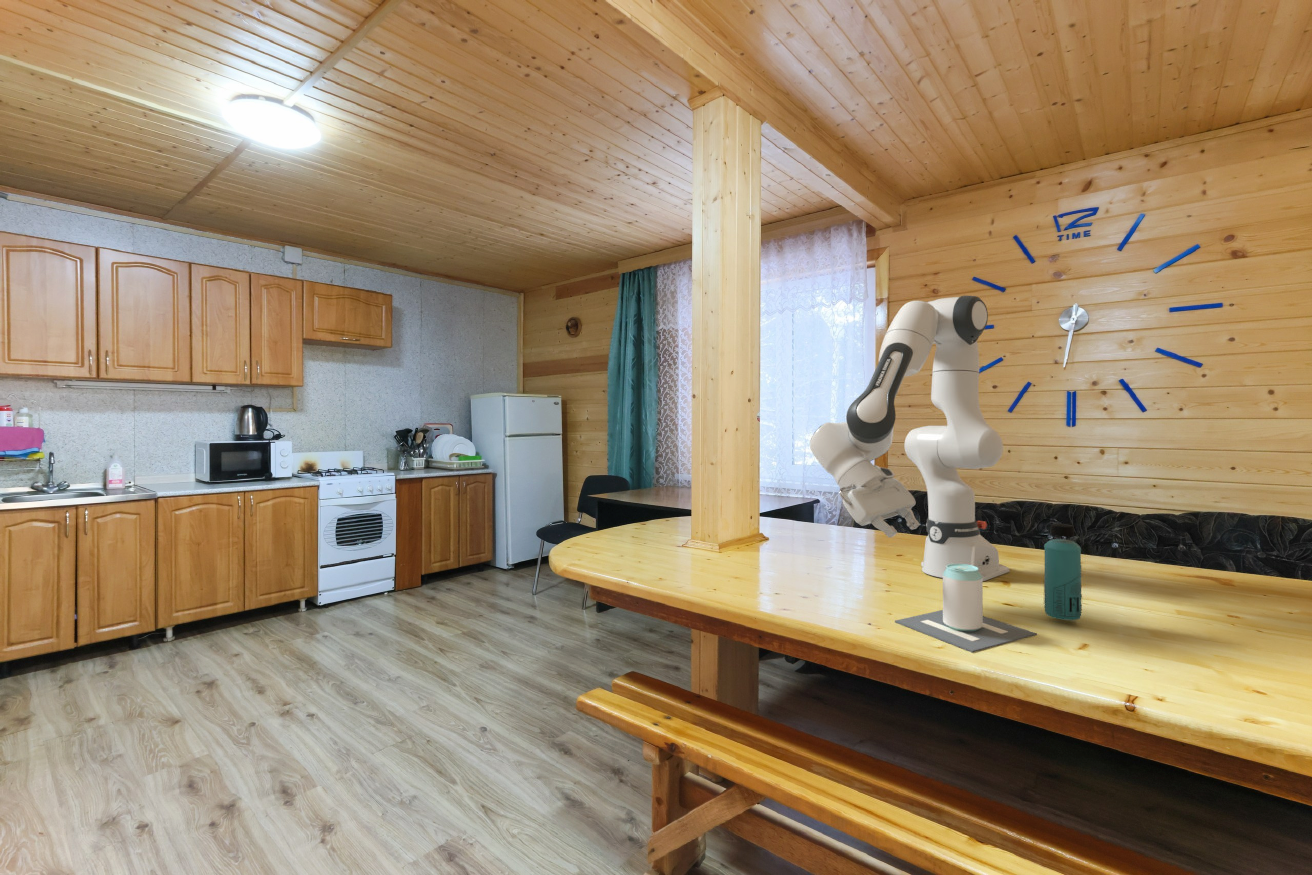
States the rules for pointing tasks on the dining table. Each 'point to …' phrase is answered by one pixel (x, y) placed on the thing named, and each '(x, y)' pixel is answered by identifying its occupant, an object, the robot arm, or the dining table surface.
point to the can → (963, 597)
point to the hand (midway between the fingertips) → (905, 531)
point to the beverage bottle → (1062, 575)
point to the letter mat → (970, 641)
